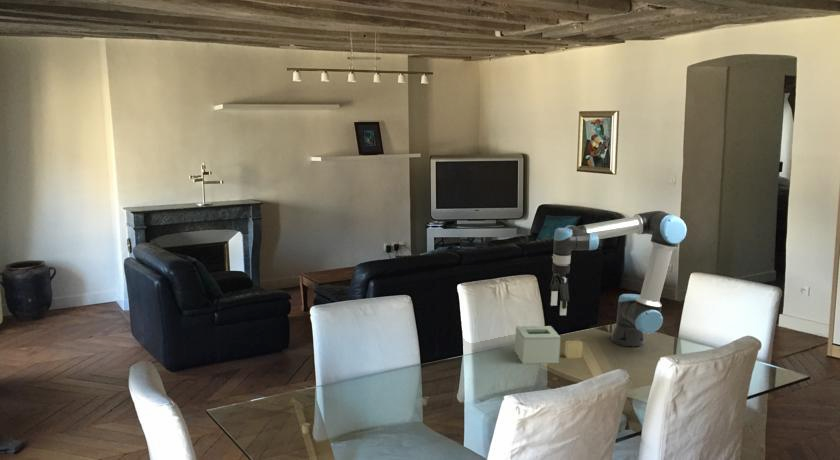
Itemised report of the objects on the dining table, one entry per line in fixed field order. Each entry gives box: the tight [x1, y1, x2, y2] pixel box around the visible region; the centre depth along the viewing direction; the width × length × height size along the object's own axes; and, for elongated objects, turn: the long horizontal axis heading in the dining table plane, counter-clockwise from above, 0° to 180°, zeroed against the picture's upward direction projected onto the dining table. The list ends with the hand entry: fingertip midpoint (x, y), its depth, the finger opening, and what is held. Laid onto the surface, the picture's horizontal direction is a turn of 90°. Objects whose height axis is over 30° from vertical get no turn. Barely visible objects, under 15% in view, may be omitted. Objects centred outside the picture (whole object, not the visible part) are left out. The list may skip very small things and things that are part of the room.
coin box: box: [514, 325, 561, 365], centre depth 318 cm, size 16×14×12 cm
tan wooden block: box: [564, 340, 584, 359], centre depth 321 cm, size 7×3×7 cm, turn 97°
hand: (558, 310), depth 318 cm, fingers open, 13 cm apart
